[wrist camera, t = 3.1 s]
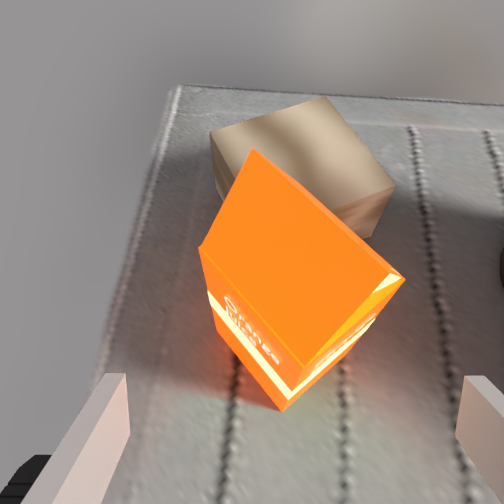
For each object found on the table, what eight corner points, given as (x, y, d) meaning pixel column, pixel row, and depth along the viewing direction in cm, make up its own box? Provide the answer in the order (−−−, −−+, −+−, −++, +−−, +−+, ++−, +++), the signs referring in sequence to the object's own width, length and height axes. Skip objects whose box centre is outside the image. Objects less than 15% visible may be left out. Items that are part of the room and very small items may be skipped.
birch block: (313, 154, 45) (325, 95, 38) (371, 236, 40) (396, 185, 33) (216, 188, 43) (209, 132, 36) (262, 280, 37) (265, 234, 30)
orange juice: (281, 413, 31) (319, 336, 14) (215, 330, 35) (180, 185, 17) (349, 352, 34) (454, 221, 17) (281, 280, 37) (309, 108, 20)
